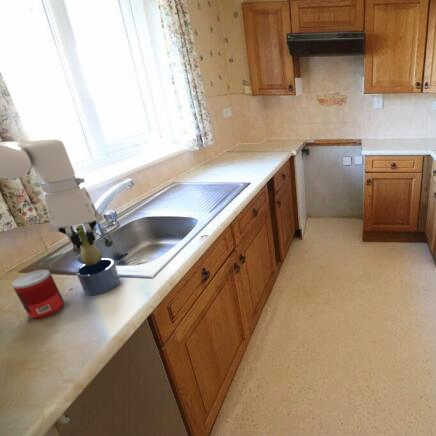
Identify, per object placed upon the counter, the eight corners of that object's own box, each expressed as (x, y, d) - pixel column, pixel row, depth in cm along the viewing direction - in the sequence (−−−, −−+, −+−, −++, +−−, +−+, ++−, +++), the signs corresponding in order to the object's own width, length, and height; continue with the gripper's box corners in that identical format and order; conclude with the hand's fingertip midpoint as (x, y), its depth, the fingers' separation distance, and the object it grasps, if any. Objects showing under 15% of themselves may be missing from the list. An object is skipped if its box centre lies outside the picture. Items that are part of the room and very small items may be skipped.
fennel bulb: (89, 258, 99) (75, 223, 94) (107, 256, 100) (94, 221, 95) (80, 269, 94) (65, 232, 89) (99, 266, 95) (85, 230, 90)
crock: (82, 299, 95) (73, 279, 92) (86, 282, 102) (78, 264, 99) (119, 288, 99) (112, 269, 96) (121, 273, 106) (114, 255, 103)
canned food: (71, 301, 94) (56, 270, 89) (45, 320, 87) (27, 287, 82) (49, 299, 95) (33, 268, 91) (22, 318, 88) (3, 285, 84)
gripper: (98, 176, 93) (118, 232, 101) (27, 187, 86) (54, 246, 94) (95, 183, 87) (117, 242, 95) (19, 195, 80) (49, 258, 88)
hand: (85, 244), depth 94 cm, fingers closed on fennel bulb, 2 cm apart
